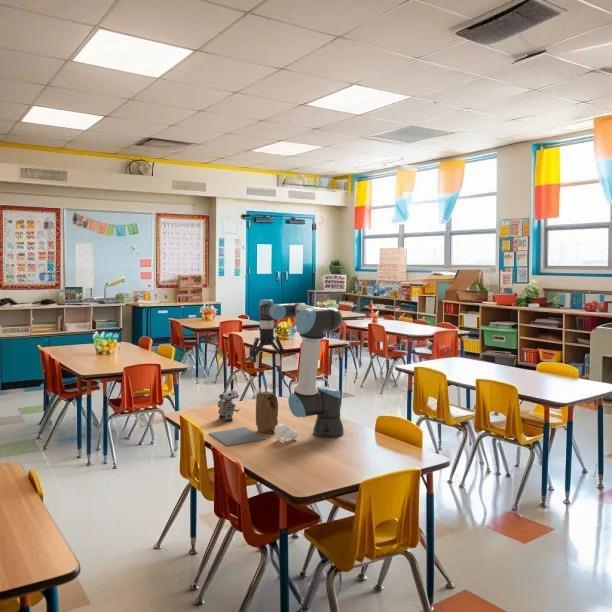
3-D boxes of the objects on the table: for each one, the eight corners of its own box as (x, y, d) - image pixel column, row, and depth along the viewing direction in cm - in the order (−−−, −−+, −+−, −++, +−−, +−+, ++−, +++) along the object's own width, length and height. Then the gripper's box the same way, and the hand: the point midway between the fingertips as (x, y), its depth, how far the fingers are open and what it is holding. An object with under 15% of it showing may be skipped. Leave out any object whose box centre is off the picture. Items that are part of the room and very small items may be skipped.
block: (254, 431, 301) (254, 392, 300) (264, 428, 307) (264, 389, 306) (270, 435, 295) (270, 395, 293) (280, 431, 301) (280, 392, 299)
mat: (265, 439, 288) (265, 438, 288) (227, 446, 278) (227, 445, 278) (245, 428, 307) (245, 427, 307) (208, 434, 296) (208, 433, 296)
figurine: (242, 419, 323) (242, 392, 322) (222, 422, 317) (222, 394, 316) (235, 415, 331) (235, 389, 329) (216, 418, 325) (215, 391, 323)
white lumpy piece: (273, 422, 286) (296, 422, 291) (271, 440, 287) (294, 439, 292) (278, 426, 280) (301, 425, 285) (276, 443, 281) (299, 443, 286)
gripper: (283, 326, 333) (283, 363, 334) (242, 328, 320) (243, 368, 321) (290, 327, 326) (290, 365, 328) (249, 330, 313) (249, 370, 315)
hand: (267, 367), depth 324 cm, fingers open, 13 cm apart
